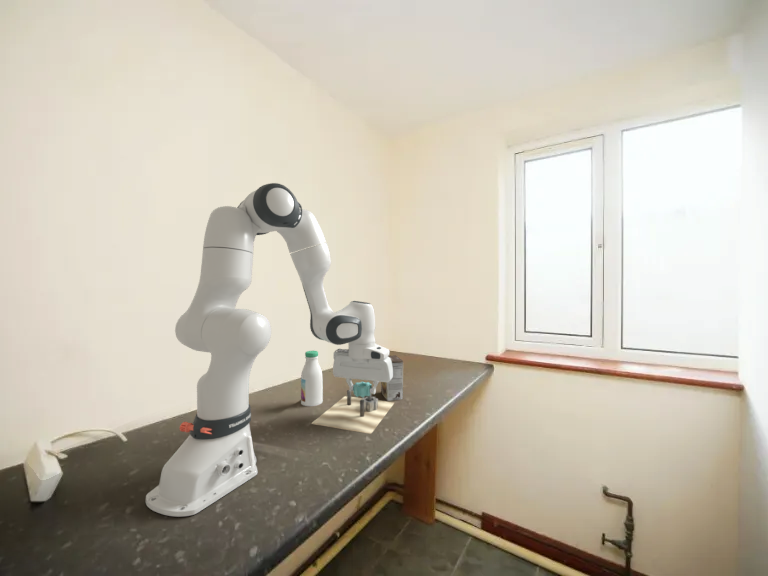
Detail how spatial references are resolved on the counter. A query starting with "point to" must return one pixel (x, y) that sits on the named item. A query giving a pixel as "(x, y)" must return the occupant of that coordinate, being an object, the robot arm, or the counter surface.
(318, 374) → the milk bottle
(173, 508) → the robot arm
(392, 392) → the coffee box
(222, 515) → the counter surface
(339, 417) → the peg board
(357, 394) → the teal gear
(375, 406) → the grey gear
